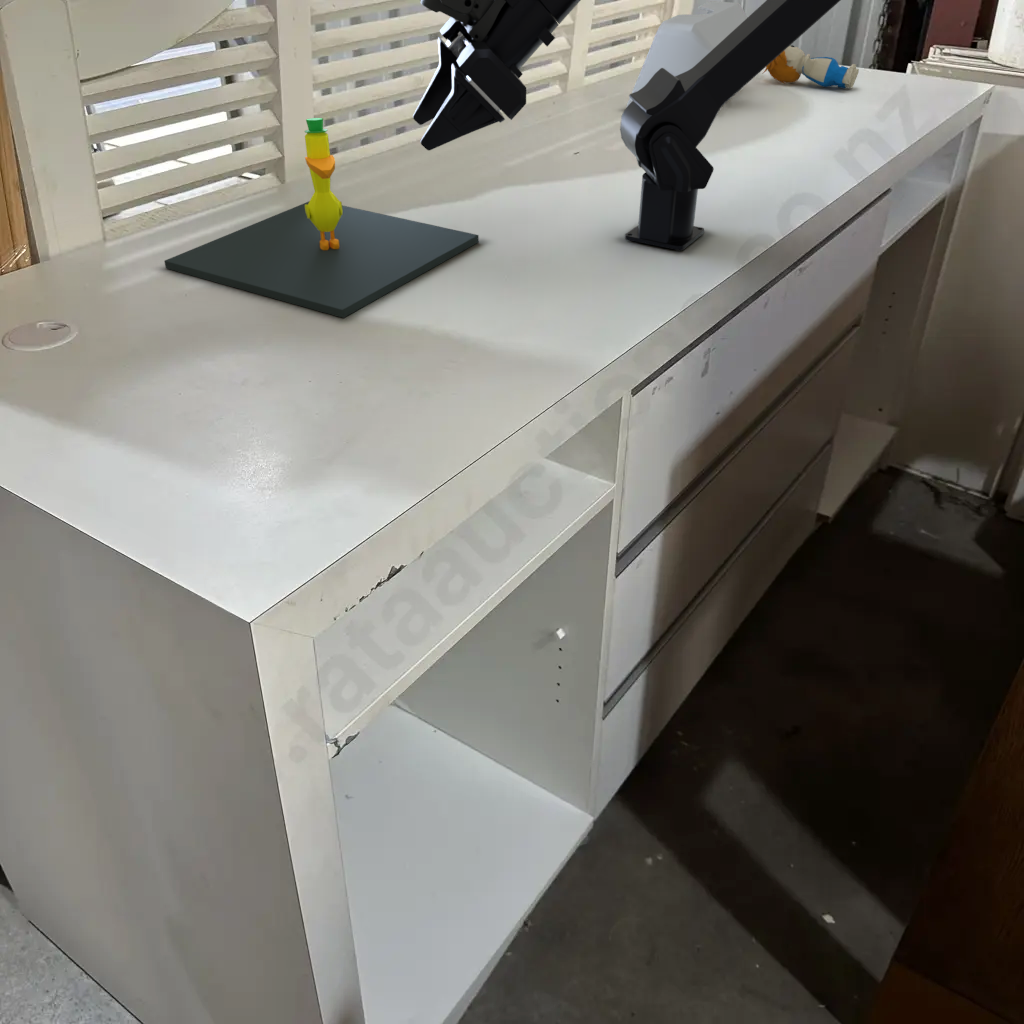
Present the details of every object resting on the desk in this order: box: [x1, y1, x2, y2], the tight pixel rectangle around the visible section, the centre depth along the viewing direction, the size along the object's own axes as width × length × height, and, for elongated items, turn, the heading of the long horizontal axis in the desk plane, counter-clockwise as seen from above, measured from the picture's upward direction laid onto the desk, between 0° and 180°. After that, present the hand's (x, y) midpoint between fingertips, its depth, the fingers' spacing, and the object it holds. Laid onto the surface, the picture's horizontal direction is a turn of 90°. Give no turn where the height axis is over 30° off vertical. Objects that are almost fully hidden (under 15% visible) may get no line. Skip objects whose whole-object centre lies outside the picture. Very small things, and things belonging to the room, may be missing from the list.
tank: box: [625, 0, 749, 109], centre depth 147 cm, size 25×16×12 cm, turn 153°
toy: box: [762, 44, 860, 89], centre depth 158 cm, size 12×6×15 cm
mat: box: [164, 201, 480, 319], centre depth 95 cm, size 22×22×1 cm
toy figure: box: [304, 117, 343, 250], centre depth 92 cm, size 7×4×12 cm, turn 19°
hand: (419, 133), depth 90 cm, fingers open, 9 cm apart
